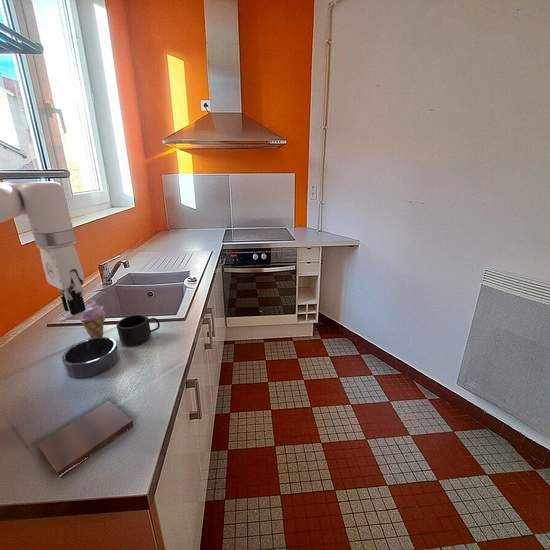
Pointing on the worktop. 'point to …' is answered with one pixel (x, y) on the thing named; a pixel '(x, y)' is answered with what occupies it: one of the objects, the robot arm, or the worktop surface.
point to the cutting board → (84, 437)
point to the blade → (76, 316)
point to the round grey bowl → (90, 357)
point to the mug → (135, 329)
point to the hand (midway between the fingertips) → (75, 310)
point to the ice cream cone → (93, 319)
